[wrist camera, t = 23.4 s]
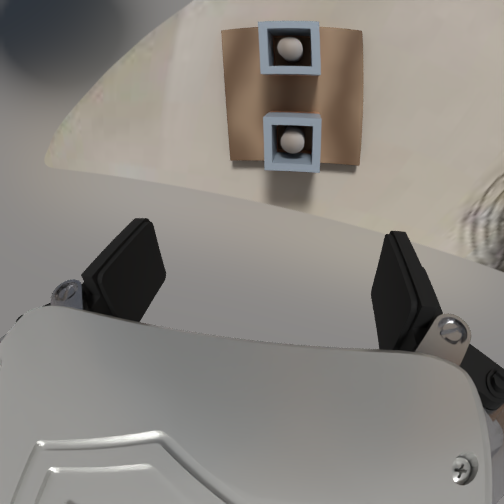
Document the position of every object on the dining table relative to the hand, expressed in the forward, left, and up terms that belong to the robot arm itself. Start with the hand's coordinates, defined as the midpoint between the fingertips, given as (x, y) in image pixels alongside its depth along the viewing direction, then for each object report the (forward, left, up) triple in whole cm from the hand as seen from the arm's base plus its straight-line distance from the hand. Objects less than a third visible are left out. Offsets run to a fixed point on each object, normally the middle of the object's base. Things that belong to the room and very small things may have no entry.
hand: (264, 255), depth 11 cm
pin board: (0, -5, -26) cm, 27 cm away
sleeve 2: (0, 0, -25) cm, 25 cm away
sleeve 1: (0, -10, -25) cm, 27 cm away
